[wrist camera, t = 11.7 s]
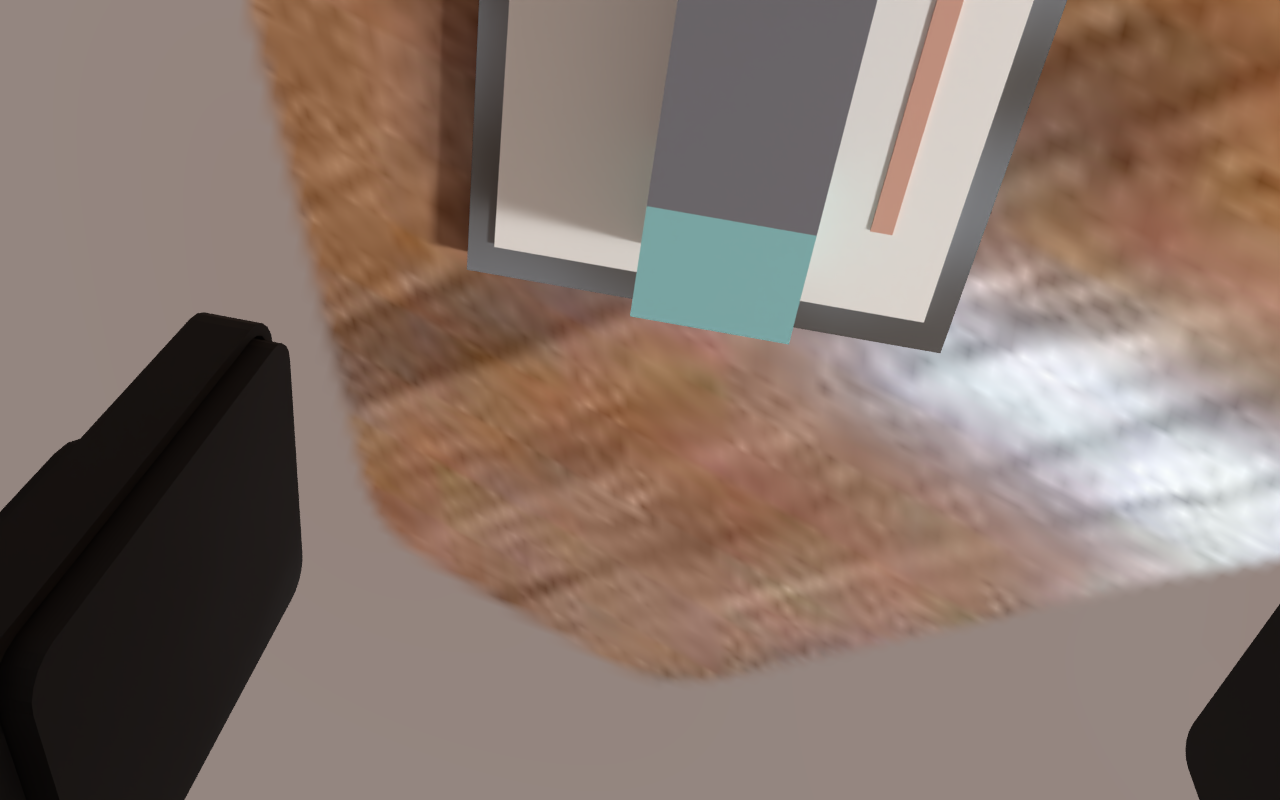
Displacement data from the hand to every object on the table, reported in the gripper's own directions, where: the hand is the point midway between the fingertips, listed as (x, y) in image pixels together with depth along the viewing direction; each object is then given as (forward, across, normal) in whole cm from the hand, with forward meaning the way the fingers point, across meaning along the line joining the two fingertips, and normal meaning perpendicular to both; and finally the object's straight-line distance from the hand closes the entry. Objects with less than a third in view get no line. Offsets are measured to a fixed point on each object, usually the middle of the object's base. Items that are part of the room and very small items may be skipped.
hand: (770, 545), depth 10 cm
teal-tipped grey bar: (+19, 0, 0) cm, 19 cm away
